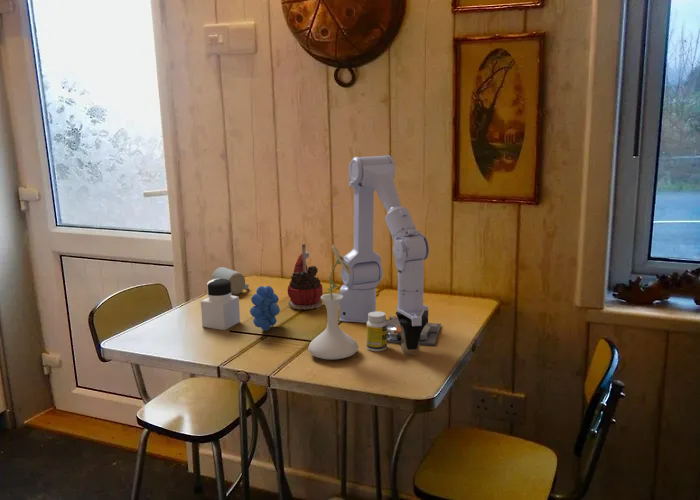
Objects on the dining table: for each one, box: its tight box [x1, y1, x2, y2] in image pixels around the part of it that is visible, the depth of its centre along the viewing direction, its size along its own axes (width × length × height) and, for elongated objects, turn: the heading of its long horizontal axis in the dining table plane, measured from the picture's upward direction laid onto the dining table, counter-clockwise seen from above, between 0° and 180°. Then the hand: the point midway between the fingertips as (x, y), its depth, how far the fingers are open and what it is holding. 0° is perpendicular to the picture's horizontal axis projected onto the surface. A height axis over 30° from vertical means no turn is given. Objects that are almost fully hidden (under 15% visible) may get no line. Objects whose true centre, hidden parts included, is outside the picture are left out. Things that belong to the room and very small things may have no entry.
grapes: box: [249, 285, 281, 331], centre depth 163 cm, size 12×7×12 cm, turn 155°
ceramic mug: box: [210, 266, 249, 296], centre depth 198 cm, size 11×8×8 cm
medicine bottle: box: [200, 279, 241, 331], centre depth 169 cm, size 7×7×12 cm
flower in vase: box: [307, 244, 359, 361], centre depth 147 cm, size 13×11×25 cm
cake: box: [287, 243, 324, 310], centre depth 182 cm, size 11×9×18 cm
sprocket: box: [387, 310, 438, 340], centre depth 161 cm, size 14×15×4 cm
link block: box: [400, 325, 420, 357], centre depth 149 cm, size 4×4×6 cm
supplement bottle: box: [366, 310, 388, 352], centre depth 151 cm, size 5×5×8 cm
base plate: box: [385, 319, 442, 347], centre depth 161 cm, size 15×14×1 cm
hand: (410, 345), depth 149 cm, fingers closed on link block, 3 cm apart
